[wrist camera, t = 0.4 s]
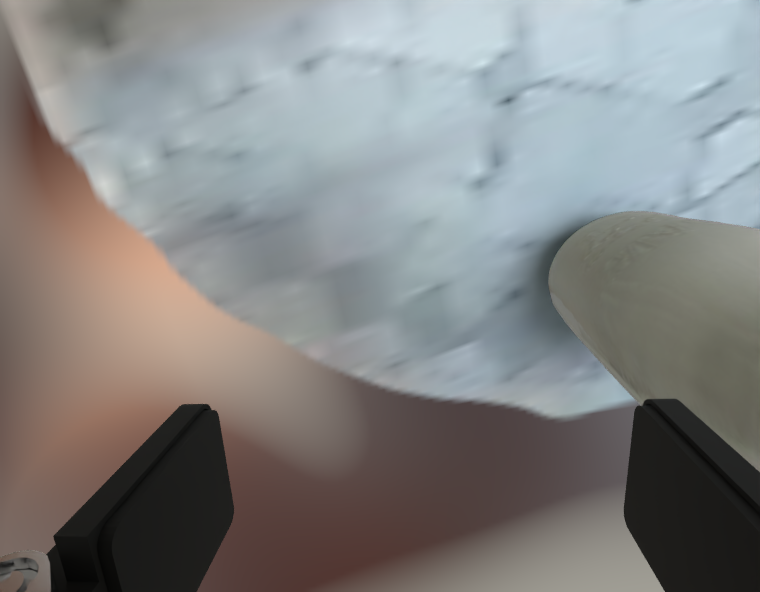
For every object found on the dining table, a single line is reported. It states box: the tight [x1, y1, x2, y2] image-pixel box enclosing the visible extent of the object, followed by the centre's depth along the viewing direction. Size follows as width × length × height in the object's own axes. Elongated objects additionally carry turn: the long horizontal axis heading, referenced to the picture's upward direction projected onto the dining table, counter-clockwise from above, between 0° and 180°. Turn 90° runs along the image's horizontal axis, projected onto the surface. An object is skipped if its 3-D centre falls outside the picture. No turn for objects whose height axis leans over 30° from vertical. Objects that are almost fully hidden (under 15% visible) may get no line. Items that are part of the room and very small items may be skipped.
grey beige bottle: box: [548, 211, 760, 472], centre depth 24 cm, size 10×10×28 cm
